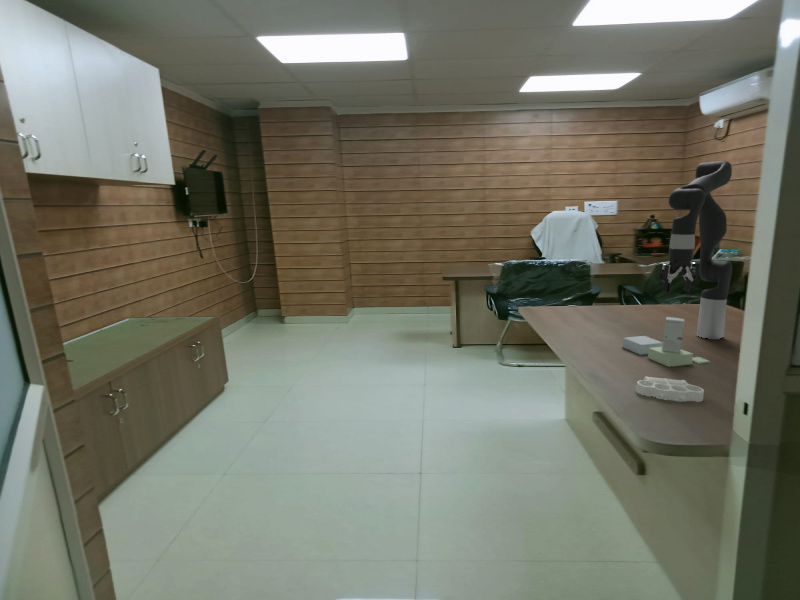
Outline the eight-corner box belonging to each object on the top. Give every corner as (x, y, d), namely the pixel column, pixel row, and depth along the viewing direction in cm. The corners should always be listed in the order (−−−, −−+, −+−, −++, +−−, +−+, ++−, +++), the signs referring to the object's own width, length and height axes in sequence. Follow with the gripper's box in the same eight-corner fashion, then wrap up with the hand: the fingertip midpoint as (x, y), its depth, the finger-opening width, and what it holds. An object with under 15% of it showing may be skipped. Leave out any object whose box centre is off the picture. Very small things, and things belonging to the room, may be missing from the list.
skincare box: (661, 351, 170) (665, 319, 167) (662, 347, 174) (665, 316, 171) (681, 353, 167) (684, 321, 164) (681, 350, 171) (684, 318, 168)
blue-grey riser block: (643, 345, 190) (644, 335, 189) (662, 352, 181) (663, 342, 180) (622, 347, 188) (623, 337, 187) (640, 354, 178) (641, 344, 178)
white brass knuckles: (695, 389, 147) (707, 407, 133) (632, 382, 153) (638, 399, 139) (696, 379, 146) (709, 397, 133) (633, 372, 152) (639, 389, 139)
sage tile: (698, 358, 173) (698, 356, 173) (710, 362, 169) (710, 361, 168) (687, 359, 172) (687, 358, 172) (698, 364, 167) (698, 362, 167)
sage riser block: (670, 355, 177) (671, 345, 176) (691, 364, 167) (693, 353, 167) (647, 358, 175) (648, 347, 174) (668, 366, 165) (669, 356, 164)
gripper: (689, 245, 168) (684, 289, 171) (656, 246, 164) (652, 291, 168) (707, 247, 161) (702, 292, 164) (673, 248, 157) (668, 295, 161)
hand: (676, 292), depth 166 cm, fingers open, 8 cm apart
